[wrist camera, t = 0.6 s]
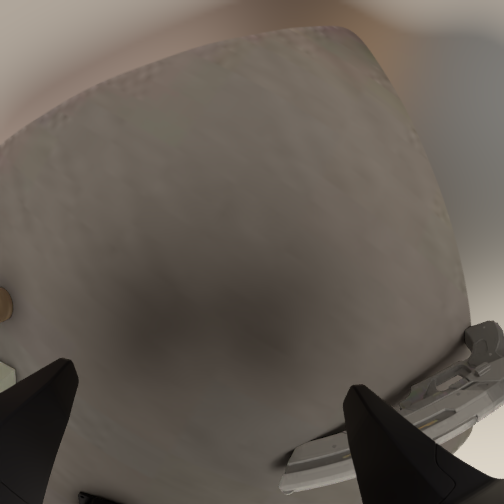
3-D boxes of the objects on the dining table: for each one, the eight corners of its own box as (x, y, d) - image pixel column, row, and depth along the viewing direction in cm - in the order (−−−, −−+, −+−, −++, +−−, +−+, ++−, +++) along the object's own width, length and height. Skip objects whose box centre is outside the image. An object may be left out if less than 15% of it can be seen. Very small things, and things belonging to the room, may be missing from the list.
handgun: (287, 414, 34) (284, 502, 19) (280, 397, 33) (274, 487, 19) (488, 329, 29) (550, 374, 14) (487, 310, 29) (555, 351, 14)
